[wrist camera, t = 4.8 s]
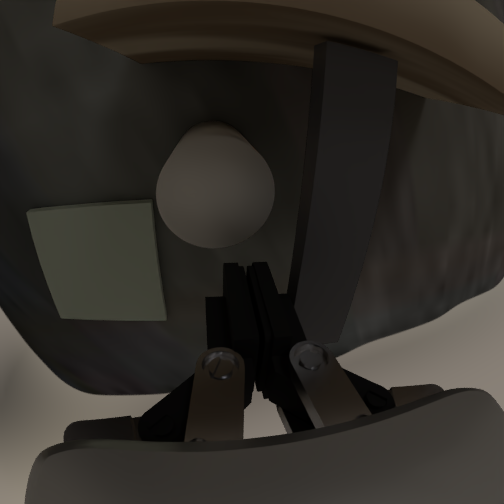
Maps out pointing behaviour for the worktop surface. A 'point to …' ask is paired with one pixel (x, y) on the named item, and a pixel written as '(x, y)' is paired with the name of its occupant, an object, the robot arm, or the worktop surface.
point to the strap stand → (310, 37)
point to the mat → (101, 260)
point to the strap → (340, 182)
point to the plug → (214, 187)
